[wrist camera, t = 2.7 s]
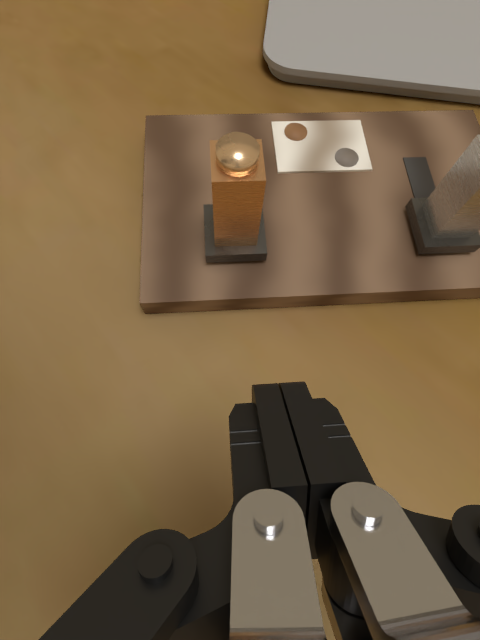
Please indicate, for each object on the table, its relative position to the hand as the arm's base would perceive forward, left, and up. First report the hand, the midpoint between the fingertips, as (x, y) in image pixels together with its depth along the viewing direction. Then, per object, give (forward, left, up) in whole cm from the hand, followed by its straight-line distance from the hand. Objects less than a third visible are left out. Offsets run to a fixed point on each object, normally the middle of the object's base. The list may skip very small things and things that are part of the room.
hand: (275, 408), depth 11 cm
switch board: (+8, +18, -15) cm, 25 cm away
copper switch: (0, +14, -13) cm, 19 cm away
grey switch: (+16, +14, -13) cm, 25 cm away
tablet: (+18, +40, -16) cm, 46 cm away
